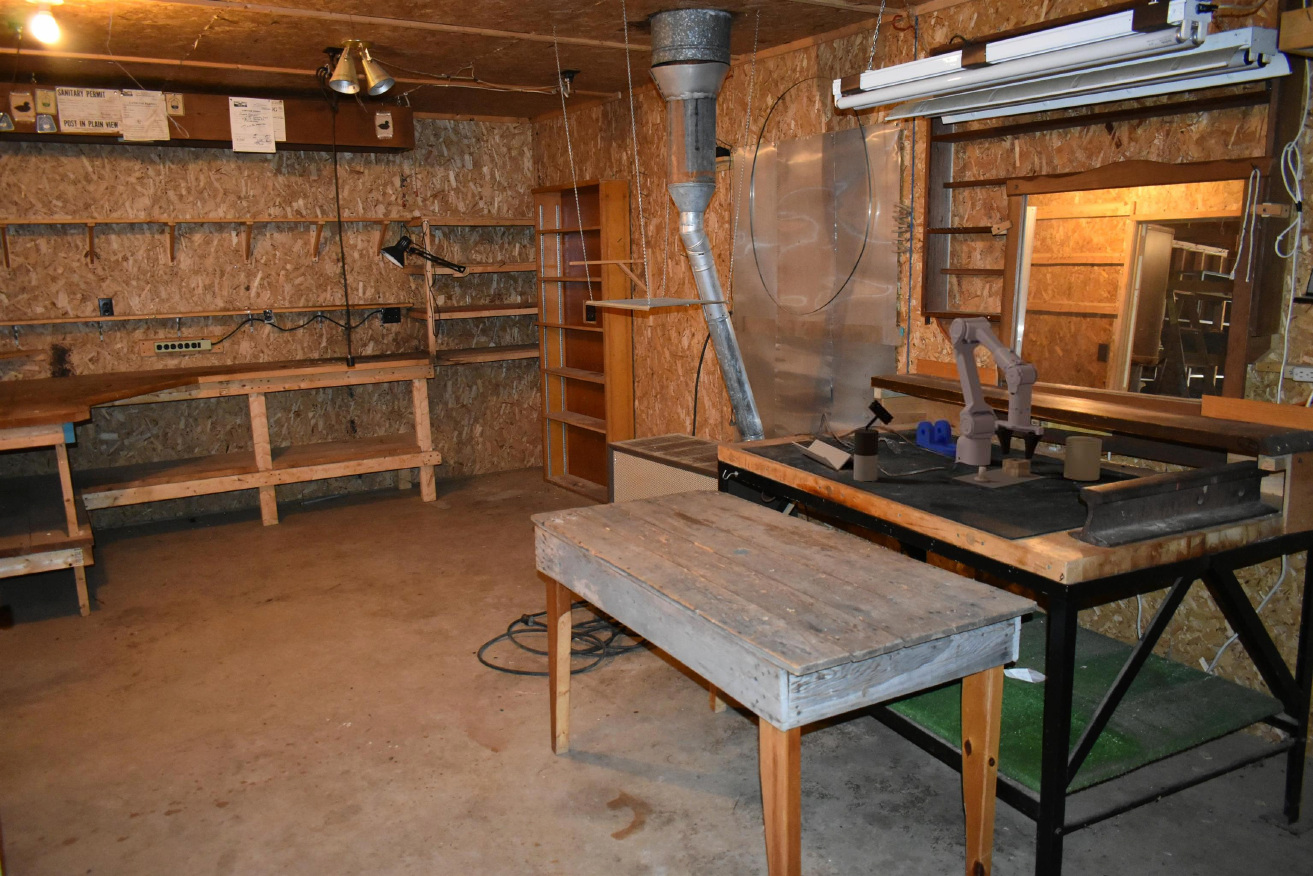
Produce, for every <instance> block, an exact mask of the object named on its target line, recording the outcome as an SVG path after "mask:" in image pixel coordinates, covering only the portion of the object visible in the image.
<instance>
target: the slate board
mask: <svg viewBox="0 0 1313 876" xmlns="http://www.w3.org/2000/svg"><path fill="white" fill-rule="evenodd" d="M1016 462H1018V461H1016ZM1045 478H1046V476H1044V475H1039V474H1034V473H1031V472H1030V475H1026V476H1021V477H1015V476H1010V475H1006V474H1002V467H1001V468H996V469H992V470H987V467H986V466H978V472H977V473H972V474H966V475H960V476H956V477H952V480H951V483H956V484H959V485H960V484H961V485H964V486H967V487H968V486H969V487H971V488H972V487H973V488H976V489H980V490H984V491H988V492H991V493H994V492H995V490H992V489H996V488H1000V487H1006V486H1011V485H1015V484H1021V483H1025V482H1030V481H1035V480H1036V481H1037V480H1039V479H1045ZM953 479H954V480H953ZM955 480H958V481H955ZM960 481H961V482H960ZM964 482H966V483H964ZM967 483H970V484H967ZM971 484H972V485H971ZM973 484H974V485H973ZM975 485H978V486H975ZM980 486H981V487H980ZM983 487H986V488H983ZM988 488H989V489H988Z"/></svg>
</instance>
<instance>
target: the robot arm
mask: <svg viewBox="0 0 1313 876" xmlns="http://www.w3.org/2000/svg"><path fill="white" fill-rule="evenodd" d="M948 332H949V336H950V341H951V346H952V348H953V349H952V350H953V353H954V359H955V363H956V367H957V371H958V373H957V374H958V377H959V380H960V381H959V382H960V385H961V391H962V395H963V399H964V403H965V406H964V408H962V410H961V411H960V412H959V419H960V420H959V421H960V422H959V428H960V431H961V433H962V434H961V435H960V436H959V437H958V439H957V441H956V442H957V443H956V444H957V449H956V456H955V462H953V463H963V464H966V465H969V466H970V465H971V466H978V467H984V466H989V465H991V453H992V438H993V437H995V436H994V435H996V437H997V440H998V441H999V445H1000V449H1001V453H1002V455H1004V456H1005V455H1006V456H1007V455H1009V454H1010V452H1011V442H1012V436H1013V433H1014V431H1016V432H1017V431H1018V432H1024V434H1022V437H1023V441H1024V447H1025V449H1024V458H1025V460H1031V459H1032V460H1033V458H1034V457H1033V456H1034V454H1035V451H1036V448H1037V446H1038V444H1039V443H1040V441H1041V439H1042V438H1043V435H1044V431H1045V430H1044V429H1045V427H1043V426H1039V425H1035V424H1031V414H1032V413H1031V412H1032V411H1031V410H1032V399H1033V398H1032V393H1033V385H1034V384H1035V383H1036V382H1037V380H1038V377H1039V374H1038V370H1037V368H1036V367H1035V365H1034V364H1032V363H1027V362H1024V360H1023V359H1022V358H1021V357H1020V356H1019V355H1018V354H1017V353H1016V352H1015V349H1014V348H1013V347H1010V346H1009V347H1008V346H1005V345H1003V344H1002V342H1001V340H1000V339H999V338H998V337H997V335H996V334H995V333H994V332H993V330H992V324H991V322H989V320H988V319H987V318H986V317H984V316H980V317H969V318H968V317H965V318H964V317H963V318H961V317H957V318H954V320H953V321H952V322H951V325H950V327H949V329H948ZM981 344H982V345H983V346H984V347H985V348H986V349H987V350H988V351H989V352H990V353H991V354H992V355H993V361H994V363H995V365H997V367H999V369H1001V370H1002V372H1003V373H1004V374H1005V381H1006V383H1007V390H1008V392H1009V393H1008V394H1009V396H1008V415H1007V418H1008V419H1007V420H1001V419H998V417H997V415H996V414H995V411H994V407H992V406H991V405H989V404H988V403H987V402H986V401H985V398H984V394H983V389H982V384H981V379H980V375H979V370H978V366H977V361H976V358H975V353H974V351H975V350H976V349H977V348H978V347H979V346H980V345H981Z"/></svg>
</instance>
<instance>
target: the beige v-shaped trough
mask: <svg viewBox="0 0 1313 876" xmlns="http://www.w3.org/2000/svg"><path fill="white" fill-rule="evenodd" d="M791 443H792V444H793V446H795V447H796V448H797V449H798V450H799V452H801V453H802V454H803V455H805V456H807V457H809V458H811V459H812V460H815V461H816V462H819V463H821V464H824V465H825V466H826V467H828V468H832V469H833V470H835V471H839V470H840V469H842V467H843V466H844V465H845V464H846V463H847V462H848V461H849V462H848V463H850V462H851V463H850V464H852V463H853V465H854V455H852V454H850V453H848V452H846V451H843V450H841V449H839V448H837V447H835V446H832V445H830V444H828V443H825V442H824V441H821V440H818V439H815V440H814V441H813V442H812V443H811V445H809V446H808V448H807V447H806V446H803V445H801V444H799V443H797V442H795V441H793V440H792V441H791Z"/></svg>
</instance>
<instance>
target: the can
mask: <svg viewBox="0 0 1313 876" xmlns="http://www.w3.org/2000/svg"><path fill="white" fill-rule="evenodd" d="M1102 446H1103V439H1101V438H1097V437H1094V436H1082V435H1081V436H1079V435H1076V436H1075V435H1074V436H1068V437H1066V438H1065V452H1064V453H1065V454H1064V465H1063V466H1064V468H1063V477H1064V478H1067V479H1070V480H1076V481H1086V482H1087V481H1097V480H1099V479H1100V474H1101V472H1100V471H1101V470H1100V469H1101V459H1102V458H1101V456H1102Z"/></svg>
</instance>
